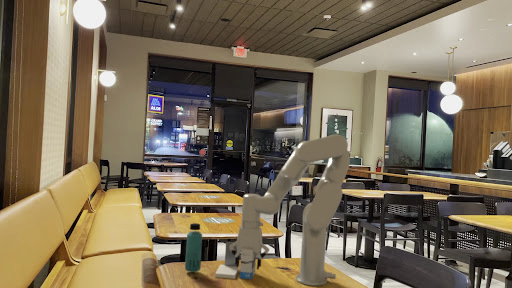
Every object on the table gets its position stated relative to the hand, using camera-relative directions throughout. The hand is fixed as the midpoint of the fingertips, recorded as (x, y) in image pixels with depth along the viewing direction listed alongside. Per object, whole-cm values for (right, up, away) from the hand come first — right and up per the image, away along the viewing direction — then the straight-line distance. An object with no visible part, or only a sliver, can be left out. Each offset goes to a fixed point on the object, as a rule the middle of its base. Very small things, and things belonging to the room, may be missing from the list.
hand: (247, 267), depth 161 cm
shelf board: (-9, -3, +1) cm, 9 cm away
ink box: (0, -4, 0) cm, 4 cm away
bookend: (-7, -2, +7) cm, 10 cm away
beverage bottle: (-23, -2, 0) cm, 23 cm away
